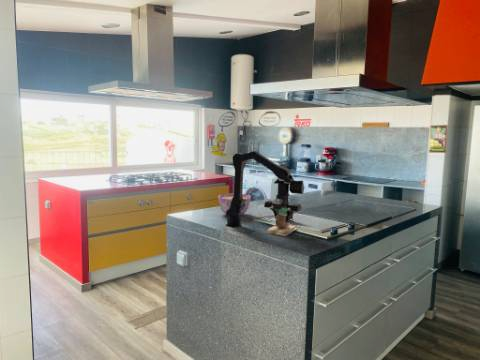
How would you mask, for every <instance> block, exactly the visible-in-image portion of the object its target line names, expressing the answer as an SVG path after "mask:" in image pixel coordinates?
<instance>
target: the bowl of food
mask: <svg viewBox="0 0 480 360" xmlns="http://www.w3.org/2000/svg"><path fill="white" fill-rule="evenodd" d="M233 196H234V192H233V193H224V194H219V195H218V197H217V198H218V203H219V207H220V210H221V211H222V213H224V214H226V211H227V210H228V209H229V208H230V205H231V201H232V199H233ZM242 197H243V199H245V207H244V209H243V210H242V211H241V213H239V214H240V217H241V216H242V215H244V214H246V212H247V211H248V209H249V206H250V202H251V198H252V196H251V195H248V194H245V193H242ZM226 215H227V214H226Z"/></svg>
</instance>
